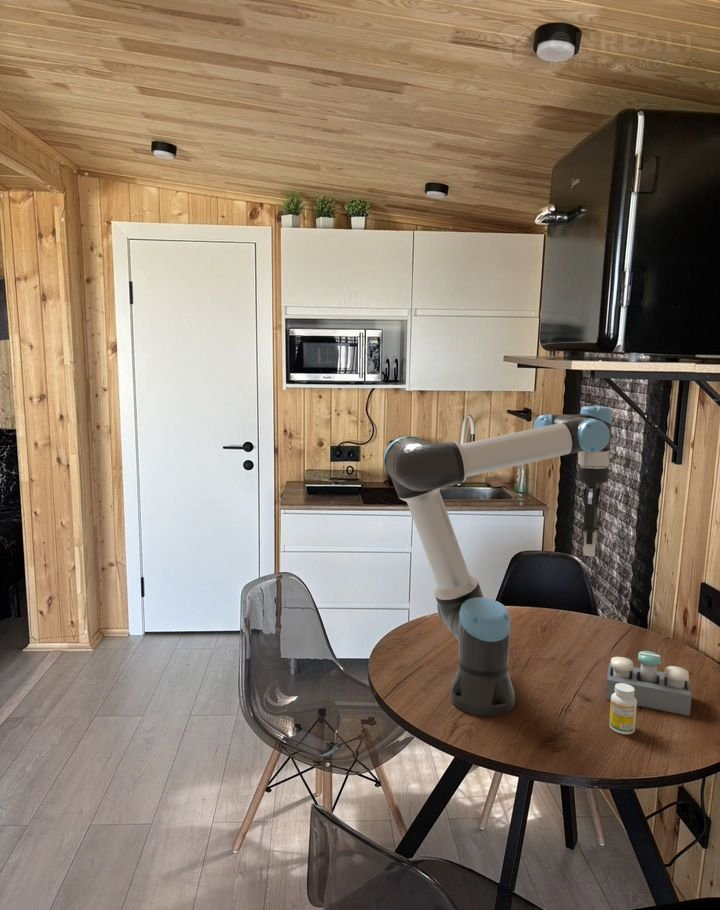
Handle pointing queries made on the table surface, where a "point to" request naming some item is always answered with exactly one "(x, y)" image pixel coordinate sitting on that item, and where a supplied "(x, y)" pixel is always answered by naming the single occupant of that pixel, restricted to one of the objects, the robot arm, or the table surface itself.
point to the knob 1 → (621, 667)
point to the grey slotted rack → (653, 692)
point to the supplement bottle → (623, 709)
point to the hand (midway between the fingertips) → (588, 555)
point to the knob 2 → (676, 676)
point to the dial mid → (649, 666)
